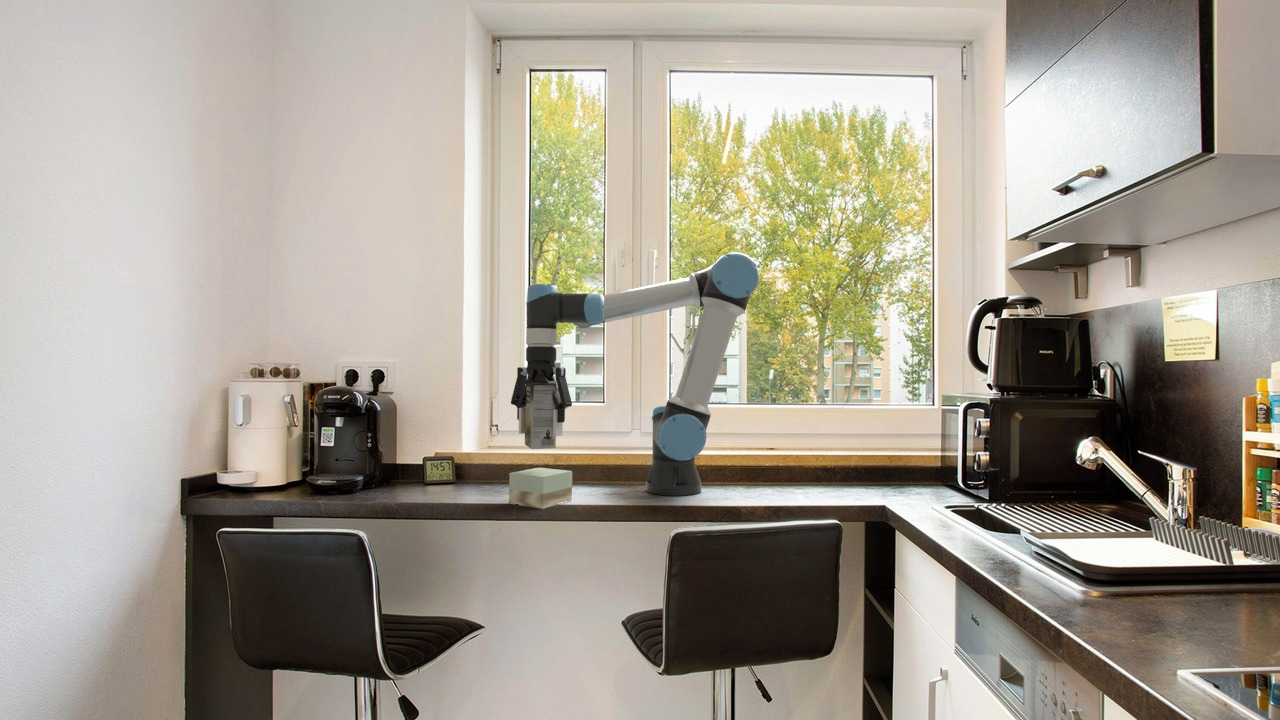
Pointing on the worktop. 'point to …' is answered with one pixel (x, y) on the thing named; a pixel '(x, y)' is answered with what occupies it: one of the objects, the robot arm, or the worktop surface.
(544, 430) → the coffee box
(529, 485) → the slab top
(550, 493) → the slab bottom
